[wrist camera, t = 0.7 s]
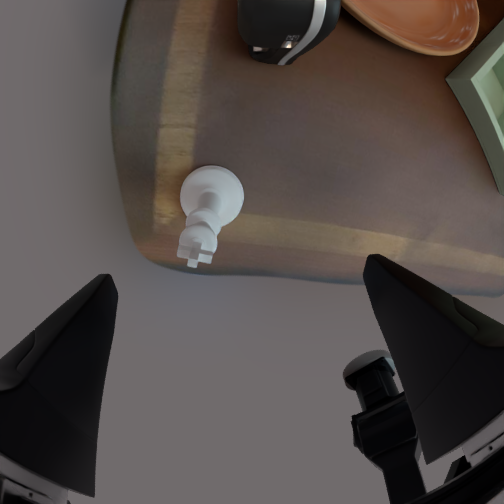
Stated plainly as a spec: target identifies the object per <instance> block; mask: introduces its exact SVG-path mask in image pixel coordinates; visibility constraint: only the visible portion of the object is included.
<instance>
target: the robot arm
mask: <svg viewBox="0 0 504 504" xmlns="http://www.w3.org/2000/svg"><path fill="white" fill-rule="evenodd" d="M363 279H364V282H365V286H366V289H367V292H368V295H369V298H370V301H371V305H372V308H373V310H374V314H375V316H376V319H377V321H378V323H379V326H380V329H381V331H382V333H383V336H384V338H385V341H386V343H387V346H388V348H389V351H390V354H391V356H392V359H393V361H394V364H395V367H396V370H397V372H398V375H399V378H400V380H401V383H402V386H403V389H404V391H403V392H402V393H400V394H399V391H398V389H397V387H396V384H395V382H394V380H393V376H395V372H394V370H393V369H392V367H391V366H390V364H389V363H388V361H387V360H386V359H385V357H380V358H378V359H377V360H375V361H373V362H372V363H370V364H368V365H367V366H365V367H363V368H361V369H359V370H358V371H356V372H354V373H352V374H350V375H349V376H347V377H345V381H346V382H347V383H348V384H349V385H350V386H351V387H352V388H353V389H354V390H356V392H357V395H358V398H359V402H360V405H361V408H362V411H363V412H361V413H358V414H357V415H352V421H351V424H352V428H353V440H354V446H355V447H357V448H358V449H359V450H360V451H361V453H362V454H364V455H365V457H366V458H367V459H368V460H369V461H370V462H371V463H372V464H373V465H374V466H375V467H376V468H378V469H379V470H380V471H382V472H383V475H384V479H385V483H386V487H387V492H388V496H389V501H390V504H504V325H503V324H501V323H499V322H497V321H496V320H494V319H492V318H490V317H488V316H486V315H485V314H483V313H481V312H479V311H477V310H476V309H474V308H472V307H470V306H469V305H467V304H465V303H463V302H462V301H460V300H459V299H457V298H455V297H452V295H450V294H449V293H447V292H445V291H444V290H442V289H440V288H439V287H437V286H435V285H434V284H432V283H430V282H428V281H427V280H425V279H423V278H422V277H420V276H418V275H416V274H415V273H413V272H411V271H409V270H407V269H406V268H404V267H402V266H400V265H399V264H397V263H395V262H393V261H391V260H389V259H388V258H386V257H384V256H382V255H380V254H370V255H368V257H367V260H366V264H365V268H364V272H363ZM117 303H118V292H117V289H116V287H115V284H114V281H113V279H112V276H111V275H110V274H100V275H98V276H97V277H95V278H94V279H93V280H92V281H90V282H89V283H88V284H87V285H85V286H84V287H83V288H82V289H81V290H79V291H78V292H77V293H76V294H74V295H73V296H72V297H71V298H70V299H69V300H67V301H66V302H65V303H64V304H63V305H61V306H60V307H59V308H58V309H57V310H56V311H54V312H53V313H52V314H51V315H50V316H49V317H48V318H46V320H44V321H43V322H42V323H41V324H40V325H39V326H37V327H36V328H35V330H33V331H32V332H31V333H30V334H29V335H28V336H27V337H25V338H24V339H23V340H22V341H21V342H20V343H19V344H18V345H16V346H15V347H14V348H13V349H12V350H10V351H9V352H8V353H7V354H6V355H4V356H3V357H2V358H1V359H0V504H70V502H69V501H68V500H67V497H68V490H70V491H73V492H76V493H79V494H83V495H86V496H90V497H94V496H95V467H96V451H97V438H98V428H99V418H100V411H101V403H102V396H103V389H104V383H105V377H106V371H107V366H108V360H109V355H110V350H111V345H112V340H113V334H114V328H115V319H116V310H117ZM461 446H462V449H463V451H464V454H465V455H464V456H462V457H461V458H459V459H457V460H456V461H454V462H452V464H451V467H450V470H449V472H448V474H447V477H446V479H445V482H444V484H443V485H441V486H440V487H438V488H436V489H434V490H432V491H430V492H428V493H427V490H426V486H425V483H424V480H423V477H422V474H421V470H420V467H419V464H418V461H419V458H420V454H421V451H423V455H424V459H425V462H426V464H427V465H428V464H430V463H432V462H434V461H436V460H438V459H439V458H442V457H443V456H445V455H447V454H449V453H451V452H452V451H454V450H456V449H458V448H460V447H461Z"/></svg>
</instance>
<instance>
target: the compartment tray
mask: <svg viewBox="0 0 504 504" xmlns="http://www.w3.org/2000/svg"><path fill="white" fill-rule="evenodd" d="M445 80H446V81H447V83H448V84H449V86H450V88H451V89H452V91H453V93H454V94H455V96H456V98H457V99H458V101H459V103H460V105H461V106H462V108H463V110H464V112H465V114H466V116H467V118H468V119H469V121H470V123H471V125H472V127H473V129H474V131H475V134H476V136H477V138H478V140H479V142H480V144H481V147H482V149H483V151H484V153H485V156H486V158H487V161H488V163H489V166H490V168H491V171H492V173H493V176H494V179H495V182H496V185H497V187H498V190H499V193H500V194H501V195H503V196H504V19H503V20H502V21H501V22H500V23H499V24H498V25H497V26H496V27H495V28H494V29H493V30H492V31H491V32H490V33H489V34H488V35H487V36H486V37H485V38H484V40H483V41H482V42H481V43H480V44H479V45H478V46H477V47H476V48H475V49H474V50H473V51H472V52H471V53H470V54H469V55H468V56H467V57H466V58H465V59H464V60H463V61H462V62H461V63H460V64H459V65H458V66H457V67H456V68H455V69H454V70H453V71H452V72H451V73H450V74H449V75H448V76H447V77H446V78H445Z"/></svg>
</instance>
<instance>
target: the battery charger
mask: <svg viewBox="0 0 504 504" xmlns="http://www.w3.org/2000/svg"><path fill="white" fill-rule="evenodd" d="M340 8H341V0H238V16H237V22H238V32H239V34H240V35H241V37H242V39H243V40H244V41H245V42H246V43H247V44H248V49H249V54H250V55H251V57H252V58H253V59H255V60H257V61H260V62H264V63H268V64H277V65H284V64H291V63H292V62H293V61H294V60H296V59H297V58H298V57H299V56H301V55H303V54H304V53H306V52H308V51H309V50H311V49H312V48H314V47H315V46H316V45H318V44H319V43H320V42H321V41H322V40H324V39H325V38H326V37H327V36H328V35H329V34H330V33H331V32H332V30H333V29H334V28H335V26H336V24H337V22H338V18H339V15H340Z"/></svg>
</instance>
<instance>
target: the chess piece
mask: <svg viewBox="0 0 504 504" xmlns="http://www.w3.org/2000/svg"><path fill="white" fill-rule="evenodd" d="M243 200H244V192H243V187H242V185H241V183H240V181H239V179H238V178H237V177H236V176H235V175H234V174H233V173H232V172H231V171H229V170H228V169H226V168H223V167H220V166H214V165H209V166H203V167H200V168H198V169H196V170H194V171H193V172H191V173H190V174H189V175H188V176H187V178H186V179H185V180H184V182H183V184H182V187H181V192H180V203H181V207H182V209H183V211H184V213H185V214H186V216H187V219H186V228H185V229H184V230H183V232H182V233H181V235H180V238H179V244H180V245H179V247H178V251H177V257H181V258H186V259H188V264H187V266H189V267H194V268H197V263H198V261H200V262H205V263H209V264H211V261H212V256H213V254H214V252H215V251H216V248H217V237H216V236H217V235H218V234H219V232H220V230H221V226H224V225H226V224H228V223H230V222H231V221H232V220H234V219H235V218H236V216H237V215H238V214H239V212H240V210H241V207H242V205H243Z"/></svg>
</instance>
